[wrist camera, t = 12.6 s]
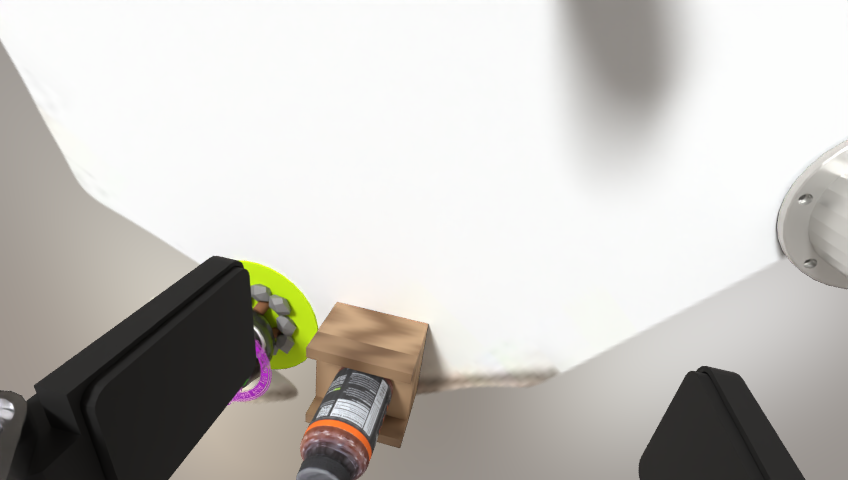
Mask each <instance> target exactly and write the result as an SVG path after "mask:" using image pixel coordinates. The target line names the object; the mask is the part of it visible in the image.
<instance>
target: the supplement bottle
mask: <svg viewBox="0 0 848 480" xmlns="http://www.w3.org/2000/svg"><path fill="white" fill-rule="evenodd" d="M392 394H393V385H392V382H391V380H390V379H388V378H384V377H380V376H376V375H372V374H368V373H365V372H361V371H357V370H353V369H349V368H345V367H342V368H341V369H340V370H339V371H338V373H337V374H336V376H335V378H334V380H333V381H332V383H331V385H330V387H329V389H328V391H327V393H326V394H325V396H324V398H323V400H322V402H321V404H320V406H319V408H318V410H317V411H316V413H315V415H314V417H313V419H312V421H311V423H310V424H309V426H308V429H307V430H306V432H305V434H304V436H303V439H302V441H301V446H300V451H301V456H302V459H303V463H302V464H301V468H300V470H299V472H298V474H297V477H296V480H356V479H358V478H359V477H360V476H361V475H362V474H363V473H364V472H365V471H366V469H367V467H368V464H369V461H370V459H371V456H372V453H373V450H374V447H375V444H376V442H377V439H378V436H379V433H380V430H381V427H382V424H383V421H384V419H385V416H386V413H387V410H388V407H389V404H390V401H391V397H392Z"/></svg>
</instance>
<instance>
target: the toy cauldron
mask: <svg viewBox="0 0 848 480" xmlns="http://www.w3.org/2000/svg"><path fill="white" fill-rule="evenodd" d="M240 262H242V264H243V266H244V269H246V270H248V272H249V275H250V286H251V298H252V310H253V322H254V334H255V347H256V366H255V369H254V371H253V373H252V374H251V376H250V377H249V378H248V380H247V381H246V382H245V384H244V385H243V386H242V387H241V389H240V390H241V391H242V388H244V387H246V386H247V385H248V384H250V383H251V382H252V381H253V380H255V379H256V378H258V377H260V375H261V378H260V381H261V382H260V381H259V383H258V384H256V385H257V386H256V385H255V386H256V387H255V386H254V387H255V388H253V389H252V390H253V391H254V392H255V393H257V392H259V393H260V392H261V391H262V390H263V389H264V388H265V386H266V384H267V382H265V381H268V369H269V380H270V369H287V368H290V367H293V366H296V365H298V364H300V363H302V362H303V361H305V360H306V359H307V357H306V347H307V345H308V344H309V343H310V341H311V340H312V338H313V337H314V335H315V334H316V332H317V331H318V325H317V321H316V317H315V314H314V312H313V310H312V307H311V305H310V303H309V302H308V301H307V299H306V298H305V296H304V295H303V293H302V292H301V291H300V290H299V289H298V288H297V287H296V286H295V285H294V284H293V283H292V282H291V281H289V280H288V279H287V278H286V277H284V276H283V275H281V274H280V273H278V272H276V271H274V270H273V269H271V268H269V267H266V266H263V265H261V264H258V263H254V262H249V261H240ZM264 370H265V371H266V372H265V371H264ZM263 372H265V373H263ZM265 376H266V377H265ZM271 376H272V373H271ZM262 377H263V379H264V378H265V379H264V381H263V379H262ZM266 378H267V379H266ZM263 382H264V384H263ZM269 383H271V380H270V382H269V381H268V384H269ZM268 384H267V386H268ZM259 385H260V386H261V387H260V386H259ZM267 386H266V388H267ZM269 386H270V384H269ZM269 386H268V388H269ZM259 387H260V388H261V389H260V388H259ZM266 388H265V389H266ZM268 388H267V389H268ZM254 389H255V390H257V391H255V390H254ZM259 389H260V390H261V391H259ZM265 389H264V391H265ZM240 390H239V391H240ZM252 390H251V389H250V391H248V392H249V394H248V393H247V392H246V391H245V393H246V396H245V393H241V392H239V391H238V392H239V393H237V396H236V395H235V396H236V397H233V399H232V400H231V401H234V400H235V401H237V400H238V399H241V398H242V399H244V400H247V401H250V399H252V398H250V397H253V396H255V394H254V393H253V392H252ZM264 391H263V392H264ZM266 391H267V390H266ZM266 391H265V392H266ZM263 392H262V393H263ZM265 392H264V393H265ZM259 393H257V394H259ZM262 393H260V394H259V395H261V394H262ZM264 393H263V394H264ZM238 394H239V395H238ZM241 394H244V396H245V398H243V397H244V396H243V395H242V396H240V395H241ZM257 394H256V395H257ZM263 394H262V395H263ZM247 395H248V397H247ZM249 395H250V396H249ZM259 395H257V396H255V397H257V398H258V396H259ZM237 397H238V398H237ZM239 397H240V398H239ZM255 397H253V398H255ZM259 397H260V396H259ZM246 398H250V399H249V400H248V399H246ZM236 399H237V400H236ZM255 399H256V398H255ZM252 400H254V399H252ZM239 401H240V400H239ZM242 401H243V400H242ZM230 404H231V403H230ZM230 404H228V405H230Z"/></svg>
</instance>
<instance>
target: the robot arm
mask: <svg viewBox="0 0 848 480" xmlns="http://www.w3.org/2000/svg"><path fill="white" fill-rule="evenodd" d="M777 230H778V239H779V242H780V245H781V247H782V250H783V252H784V253H785V255H786V256H787V257H788V259H789V260H790V261H791V263H792V264H794V265H795V266H796V267H797V268H798V269H799V270H800V271H801V272H803V273H804V274H806V275H807V276H809V277H811V278H812V279H814V280H816V281H818V282H821V283H824V284H826V285H829V286H834V287H838V288H844V289H848V140H846V141H844V142H842V143H840V144H839V145H837V146H835V147H834V148H832V149H831V150H829V151H827V152H826V153H824V154H823V155H822V156H820V157H819V158H818V159H817V160H816V161H814V162H813V163H812V164H811V165H810V166H808V167H807V168H806V169H805V171H804V172H803V173H802V174H801V175H800V176H799V177H798V178H797V180H796V181H795V182H794V183H793V185H792V187H791V188H790V190H789V191H788V193H787V195H786V196H785V198H784V201H783V203H782V206H781V209H780V211H779V217H778V223H777ZM255 366H256V347H255V334H254V322H253V310H252V298H251V286H250V275H249V272H248V270H246V269H244V266H243V264H242V262H240V261H237V260H233V259H229V258H224V257H220V256H213V257H211V258H209V259H208V260H206V261H205V262H203V263H202V264H201V265H199V266H198V267H197V268H195V269H194V270H192V271H191V272H190V273H188V274H187V275H185V276H184V277H183V278H181V279H180V280H179V281H177V282H176V283H175V284H173V285H172V286H170V287H169V288H168V289H166V290H165V291H163V292H162V293H161V294H159V295H158V296H157V297H155V298H154V299H152V300H151V301H150V302H148V303H147V304H145V305H144V306H143V307H141V308H140V309H139V310H137V311H136V312H134V313H133V314H132V315H130V316H129V317H128V318H126V319H125V320H123V321H122V322H121V323H119V324H118V325H117V326H115V327H114V328H112V329H111V330H110V331H108V332H107V333H106V334H104V335H103V336H101V337H100V338H99V339H97V340H96V341H94V342H93V343H92V344H90V345H89V346H88V347H87V348H85V349H83V350H82V351H81V352H79V353H78V354H77V355H75V356H74V357H73V358H71V359H70V360H68V361H67V362H65V363H64V364H63V365H61V366H60V367H59V368H57V369H56V370H55V371H53V372H52V373H50V374H49V375H48V376H46V377H45V378H44V379H42V380H41V381H39V382H38V383H37V384H35V385H34V388H35V390H36V394H35V395H34V396H32V397H31V398H30V399H28V400H27V401H25V399H24V398H23V396H22V395H19V394H17V393H15V392H12V391H4V390H0V480H168V479H169V478H170V477H171V476H172V474H173V473H174V472H175V471H176V469H177V468H178V467H179V466H180V464H181V463H182V462H183V461H184V459H185V458H186V457H187V455H188V454H189V453H190V452H191V450H192V449H193V448H194V447H195V445H196V444H197V443H198V442H199V440H200V439H201V438H202V437H203V435H204V434H205V433H206V431H207V430H208V429H209V428H210V426H211V425H212V424H213V423H214V421H215V420H216V419H217V417H218V416H219V415H220V414H221V413H222V411H223V410H224V409H225V407H226V406H227V405H228V404H229V402H230V401H231V400H232V399H233V397H234V396H235V395H236V394H237V392H238V391H239V390H240V389H241V387H242V386H243V385H244V384H245V382H246V381H247V380H248V378H249V377H250V376H251V374H252V373H253V371H254V369H255ZM639 478H640V480H805V478H804V477H803V475H802V473H801V472H800V470H799V469H798V467H797V465H796V464H795V462H794V461H793V459H792V458H791V456H790V454H789V453H788V451H787V450H786V448H785V446H784V445H783V443H782V441H781V440H780V438H779V437H778V435H777V433H776V432H775V430H774V428H773V427H772V425H771V424H770V422H769V420H768V419H767V417H766V416H765V414H764V413H763V411H762V409H761V408H760V406H759V404H758V403H757V401H756V400H755V398H754V397H753V395H752V393H751V392H750V390H749V389H748V387H747V385H746V384H745V382H744V380H743V379H742V378H741V376H740V375H738V374H737V373H734V372H730V371H725V370H721V369H716V368H712V367H708V366H702V367H700V368H698V370H697V371H690V372H688V373H687V375H686V376H685V378H684V380H683V382H682V383H681V385H680V387H679V389H678V391H677V392H676V394H675V396H674V398H673V400H672V402H671V403H670V405H669V407H668V409H667V411H666V413H665V414H664V416H663V418H662V420H661V422H660V424H659V425H658V427H657V429H656V431H655V433H654V434H653V436H652V438H651V440H650V442H649V444H648V445H647V448H646V449H645V451H644V453H643V455H642V456H641V459H640V463H639Z"/></svg>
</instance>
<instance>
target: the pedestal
mask: <svg viewBox="0 0 848 480" xmlns="http://www.w3.org/2000/svg"><path fill="white" fill-rule="evenodd" d="M427 329H428V324H426V323H422V322H418V321H414V320H410V319H406V318H402V317H397V316H393V315H389V314H385V313H381V312H377V311H372V310H368V309H364V308H360V307H356V306H352V305H348V304H343V303H339V302H337V303H336V304H335V306H334V307H333V309H332V310H331V312H330V313H329V315H328V316H327V318H326V319H325V320H324V322H323V323H322V325H321V326H320V328H319V329H318V331H317V332H316V334H315V335H314V337H313V338H312V340H311V341H310V343H309V344H308V345H307V347H306V357H307V358H311V359H315V360H317V367H316V396H315V398H314V400H313V402H312V404H311V405H310V407H309V409H308V411H307V412H306V422H308V423H311V421H312V419H313V417H314V415H315V413H316V411H317V410H318V408H319V406H320V404H321V402H322V400H323V398H324V396H325V394H326V393H327V391H328V389H329V387H330V385H331V383H332V381H333V380H334V378H335V376H336V374H337V373H338V371H339V370H340V369H341V368H342V367H345V368H349V369H353V370H357V371H361V372H365V373H368V374H372V375H376V376H380V377H384V378H388V379H390V380H391V382H392V385H393V394H392V397H391V401H390V404H389V407H388V410H387V413H386V416H385V419H384V421H383V424H382V427H381V430H380V433H379V436H378V439H377V442H379V443H383V444H387V445H390V446H394V447H397V448H400V447H401V443H402V439H403V436H404V433H405V430H406V426H407V423H408V419H409V416H410V412H411V409H412V405H413V402H414V399H415V395H416V392H417V386H418V380H419V374H420V369H421V363H422V357H423V352H424V346H425V340H426V335H427Z"/></svg>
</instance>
